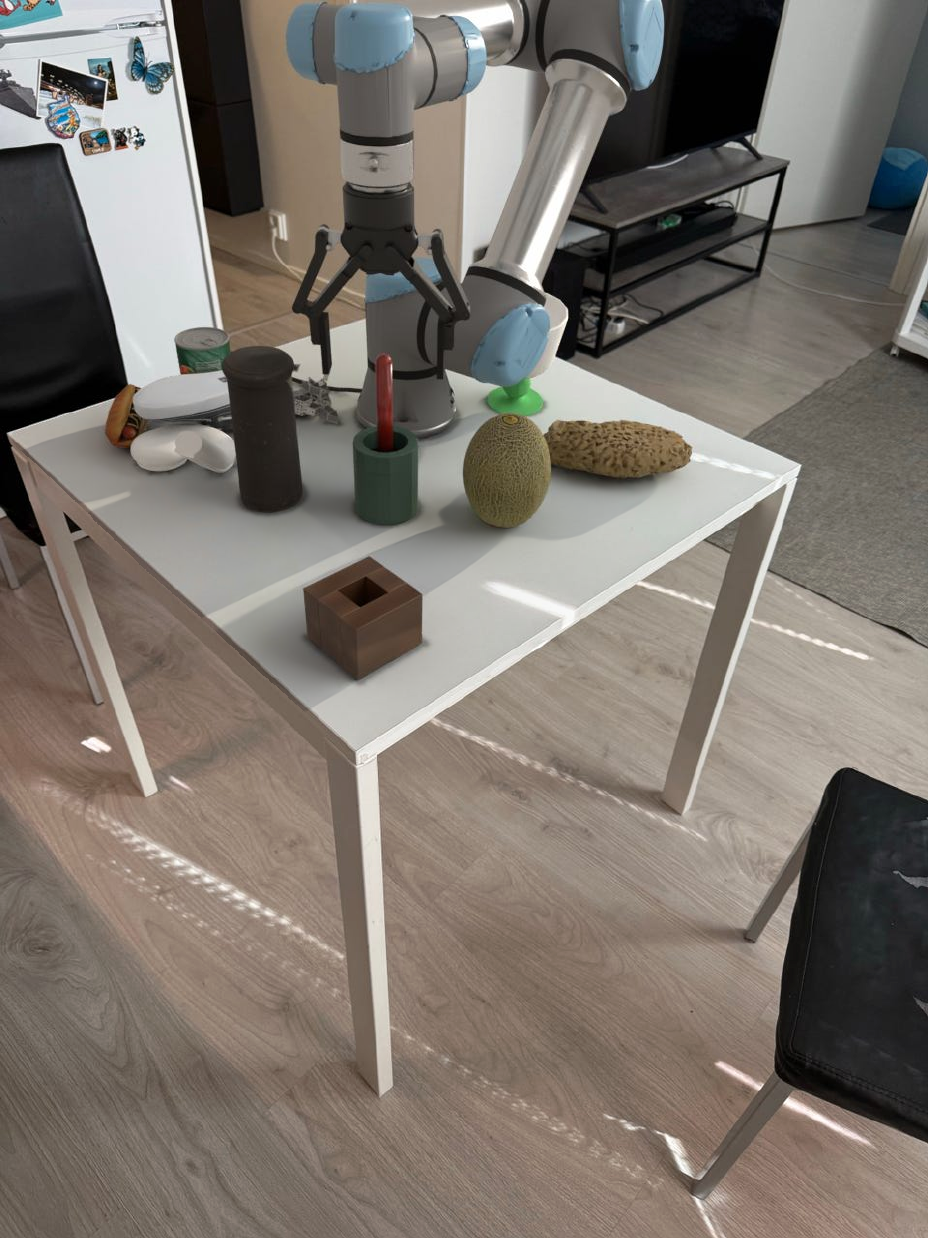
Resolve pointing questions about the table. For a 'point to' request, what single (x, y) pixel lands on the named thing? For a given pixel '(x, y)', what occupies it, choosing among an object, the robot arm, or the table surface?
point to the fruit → (507, 470)
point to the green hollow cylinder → (386, 477)
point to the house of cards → (314, 399)
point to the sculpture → (184, 448)
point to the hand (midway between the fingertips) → (383, 372)
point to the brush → (384, 403)
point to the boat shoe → (187, 400)
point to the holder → (363, 616)
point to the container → (264, 427)
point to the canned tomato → (201, 349)
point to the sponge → (616, 448)
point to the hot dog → (124, 419)
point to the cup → (521, 394)
